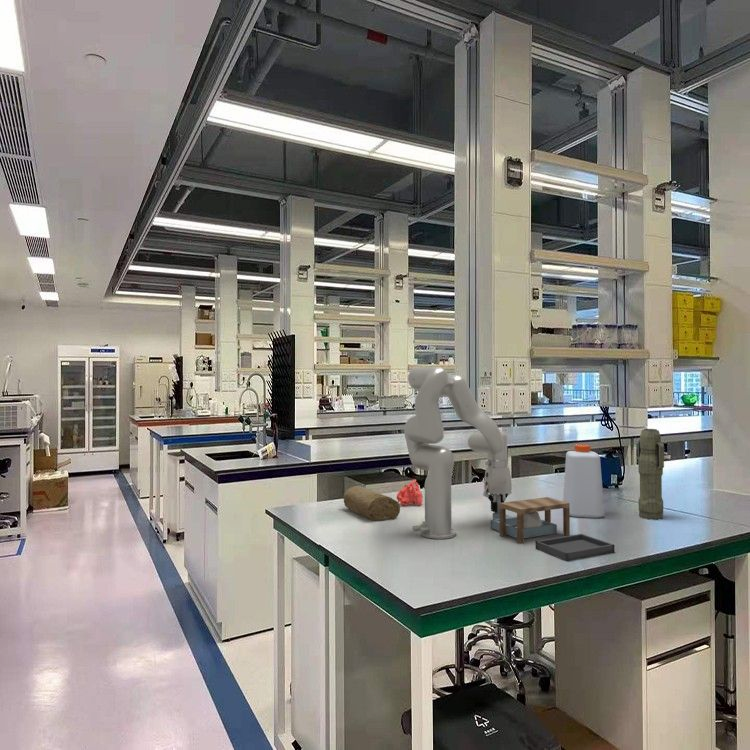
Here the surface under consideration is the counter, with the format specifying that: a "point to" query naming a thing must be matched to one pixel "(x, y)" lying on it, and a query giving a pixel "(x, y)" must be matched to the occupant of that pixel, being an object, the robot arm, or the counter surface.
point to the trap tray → (574, 547)
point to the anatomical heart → (410, 494)
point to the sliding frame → (512, 521)
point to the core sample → (371, 504)
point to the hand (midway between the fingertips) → (497, 510)
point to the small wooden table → (533, 506)
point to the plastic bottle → (583, 483)
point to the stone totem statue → (650, 474)
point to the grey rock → (531, 520)
